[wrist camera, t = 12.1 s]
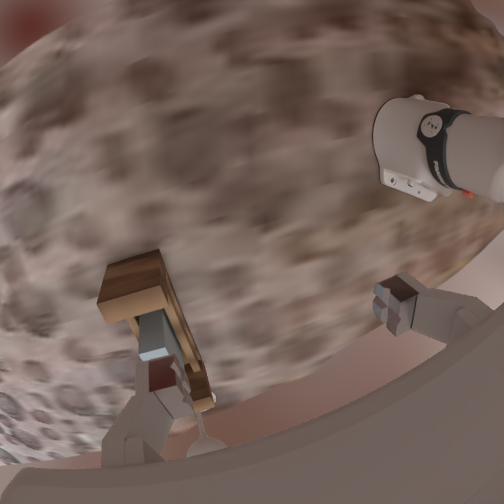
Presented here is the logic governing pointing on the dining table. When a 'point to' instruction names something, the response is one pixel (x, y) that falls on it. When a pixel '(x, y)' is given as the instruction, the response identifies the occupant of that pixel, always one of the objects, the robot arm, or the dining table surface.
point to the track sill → (150, 299)
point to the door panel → (157, 337)
